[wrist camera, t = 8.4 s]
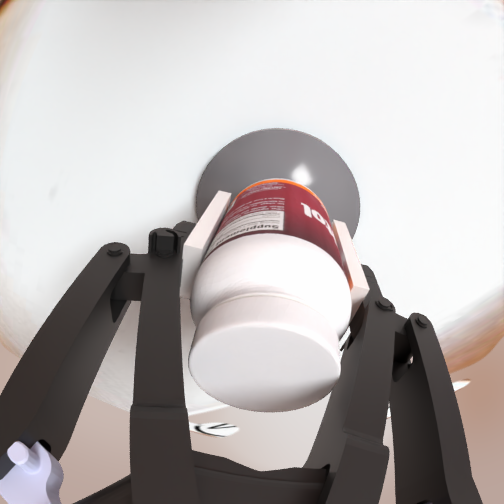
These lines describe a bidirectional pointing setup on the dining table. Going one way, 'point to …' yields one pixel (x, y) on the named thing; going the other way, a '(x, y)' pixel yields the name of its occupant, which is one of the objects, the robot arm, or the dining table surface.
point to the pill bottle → (270, 302)
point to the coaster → (283, 171)
